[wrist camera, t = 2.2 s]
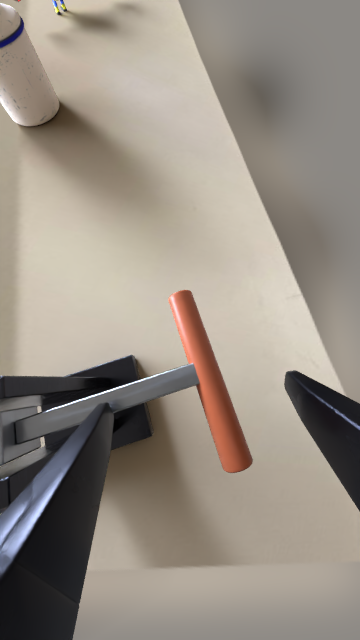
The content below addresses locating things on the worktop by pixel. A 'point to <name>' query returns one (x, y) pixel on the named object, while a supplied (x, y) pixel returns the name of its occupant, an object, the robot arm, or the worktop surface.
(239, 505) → the worktop surface
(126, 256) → the worktop surface
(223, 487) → the worktop surface
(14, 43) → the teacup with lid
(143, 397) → the lever
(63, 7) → the toy figure
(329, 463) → the robot arm
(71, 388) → the bracket
